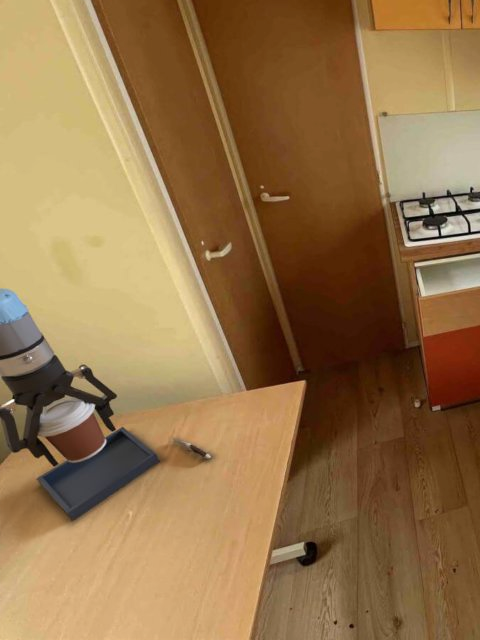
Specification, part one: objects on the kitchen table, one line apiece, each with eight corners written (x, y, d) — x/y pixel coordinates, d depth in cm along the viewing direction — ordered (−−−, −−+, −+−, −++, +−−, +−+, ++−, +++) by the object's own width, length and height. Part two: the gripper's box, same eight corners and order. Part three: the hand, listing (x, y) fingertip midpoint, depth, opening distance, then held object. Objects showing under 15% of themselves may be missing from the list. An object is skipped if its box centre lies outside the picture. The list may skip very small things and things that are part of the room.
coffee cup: (73, 474, 86) (43, 434, 80) (48, 459, 89) (17, 419, 83) (123, 439, 93) (99, 400, 88) (99, 426, 96) (74, 388, 91)
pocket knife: (212, 458, 98) (210, 452, 97) (209, 461, 97) (206, 455, 97) (175, 438, 103) (172, 433, 102) (171, 441, 102) (168, 436, 101)
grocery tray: (42, 486, 92) (35, 478, 91) (127, 433, 104) (122, 426, 103) (73, 521, 85) (67, 513, 84) (160, 461, 97) (155, 453, 96)
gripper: (-53, 411, 70) (20, 495, 80) (108, 338, 87) (150, 416, 97) (-66, 395, 73) (5, 478, 83) (91, 328, 90) (134, 404, 100)
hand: (83, 444), depth 90 cm, fingers closed on coffee cup, 9 cm apart
